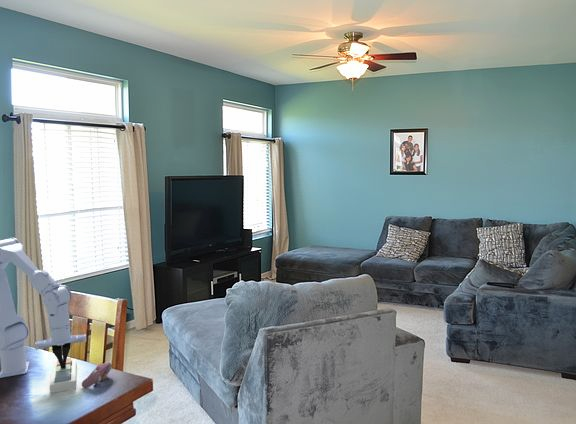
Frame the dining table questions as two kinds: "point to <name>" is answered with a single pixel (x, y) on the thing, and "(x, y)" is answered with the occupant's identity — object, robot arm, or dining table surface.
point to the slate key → (62, 376)
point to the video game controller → (97, 375)
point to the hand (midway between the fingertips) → (63, 366)
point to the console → (64, 384)
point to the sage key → (63, 369)
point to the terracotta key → (66, 362)
